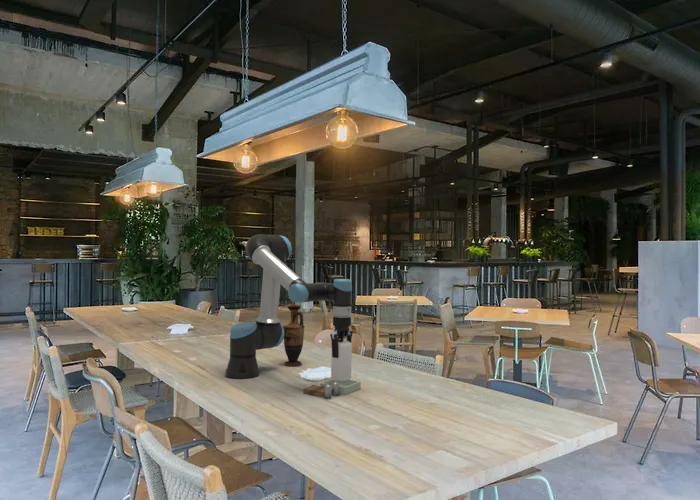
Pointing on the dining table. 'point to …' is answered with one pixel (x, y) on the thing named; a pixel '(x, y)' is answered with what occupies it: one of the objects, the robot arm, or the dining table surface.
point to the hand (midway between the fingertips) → (341, 373)
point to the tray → (345, 386)
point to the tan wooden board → (314, 391)
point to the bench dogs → (331, 390)
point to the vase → (294, 336)
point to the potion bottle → (342, 362)
